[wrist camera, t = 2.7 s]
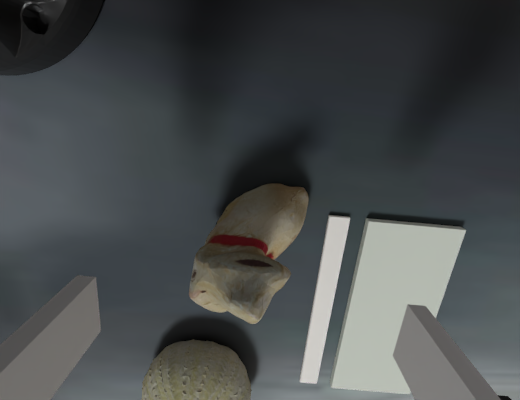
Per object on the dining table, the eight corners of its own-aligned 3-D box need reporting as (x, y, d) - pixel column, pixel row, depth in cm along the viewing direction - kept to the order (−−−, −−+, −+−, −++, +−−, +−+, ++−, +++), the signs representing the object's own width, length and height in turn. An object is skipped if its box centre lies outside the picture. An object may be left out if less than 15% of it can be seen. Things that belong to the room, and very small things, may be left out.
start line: (328, 214, 21) (329, 216, 21) (349, 216, 21) (350, 218, 21) (299, 379, 26) (299, 382, 26) (316, 380, 26) (316, 383, 26)
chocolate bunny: (196, 191, 21) (139, 266, 11) (305, 178, 21) (341, 243, 11) (210, 259, 23) (171, 372, 13) (311, 248, 22) (346, 356, 13)
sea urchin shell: (256, 344, 23) (247, 478, 19) (253, 344, 30) (246, 442, 26) (139, 334, 23) (108, 467, 19) (164, 336, 30) (144, 434, 26)
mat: (366, 218, 21) (368, 221, 21) (460, 226, 21) (465, 230, 21) (329, 381, 26) (331, 387, 26) (406, 388, 27) (409, 394, 26)
